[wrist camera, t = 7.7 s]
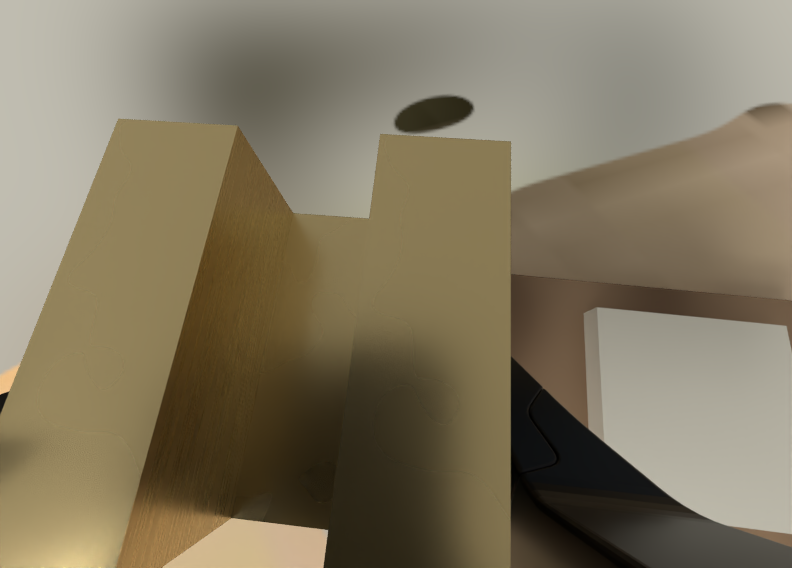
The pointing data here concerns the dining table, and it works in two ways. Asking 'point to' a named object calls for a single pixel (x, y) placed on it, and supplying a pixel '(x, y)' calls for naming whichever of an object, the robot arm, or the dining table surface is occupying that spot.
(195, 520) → the brass clip
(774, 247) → the dining table surface
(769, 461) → the divided tray
